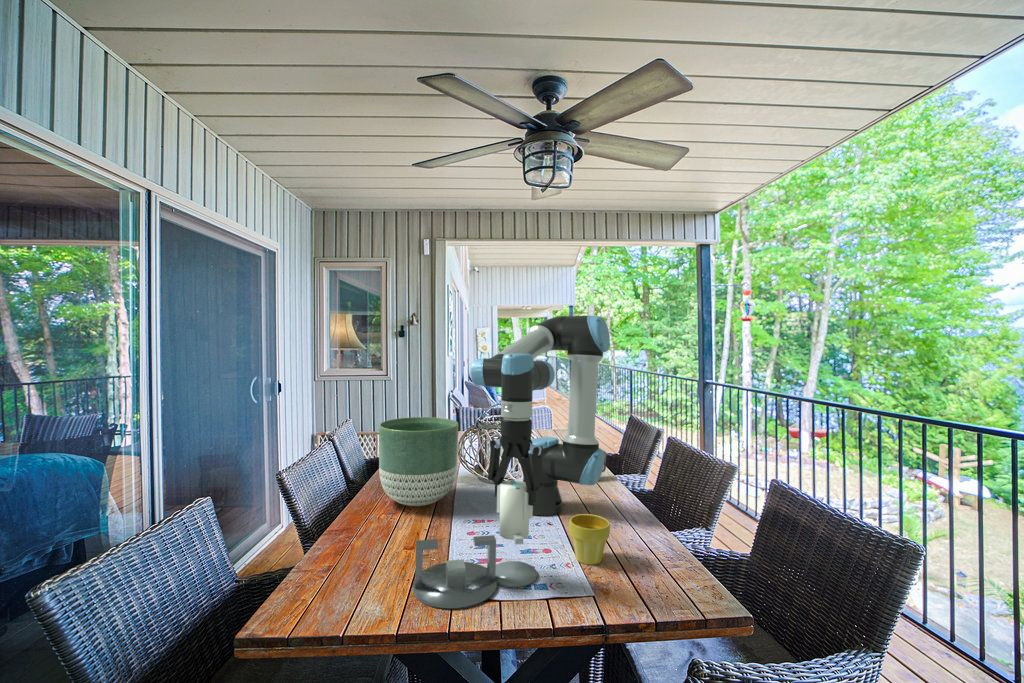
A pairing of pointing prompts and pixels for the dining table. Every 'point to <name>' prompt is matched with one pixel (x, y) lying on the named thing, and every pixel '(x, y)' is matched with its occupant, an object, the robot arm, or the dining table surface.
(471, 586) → the grey hook stand
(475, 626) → the dining table surface
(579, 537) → the plant pot
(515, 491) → the white teal-striped cylinder
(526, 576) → the coaster
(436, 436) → the planter
